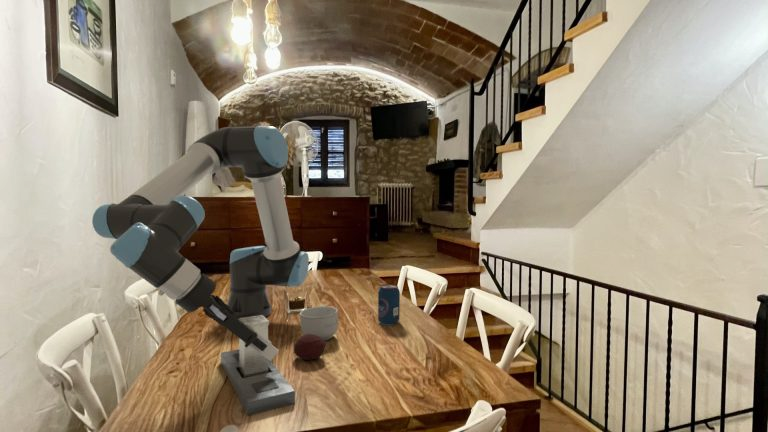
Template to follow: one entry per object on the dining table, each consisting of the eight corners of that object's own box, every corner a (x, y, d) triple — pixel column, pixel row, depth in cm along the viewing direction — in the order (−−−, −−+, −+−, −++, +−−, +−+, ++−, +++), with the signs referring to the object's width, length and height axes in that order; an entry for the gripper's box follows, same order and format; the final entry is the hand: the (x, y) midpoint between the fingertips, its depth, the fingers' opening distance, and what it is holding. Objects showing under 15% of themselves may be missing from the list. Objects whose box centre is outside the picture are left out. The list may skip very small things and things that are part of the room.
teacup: (330, 346, 111) (330, 317, 111) (293, 342, 113) (293, 314, 113) (345, 330, 125) (345, 304, 124) (312, 327, 127) (312, 302, 127)
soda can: (373, 322, 133) (373, 285, 132) (389, 318, 137) (389, 282, 137) (387, 327, 127) (388, 289, 127) (403, 323, 132) (404, 286, 132)
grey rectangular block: (238, 371, 90) (237, 318, 90) (262, 366, 93) (262, 314, 93) (243, 381, 86) (243, 325, 85) (269, 375, 89) (269, 321, 88)
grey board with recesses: (220, 362, 99) (220, 352, 99) (258, 355, 104) (258, 345, 104) (247, 415, 75) (247, 401, 75) (294, 403, 80) (294, 390, 80)
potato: (302, 367, 97) (302, 342, 97) (288, 356, 104) (288, 333, 103) (329, 360, 101) (329, 336, 101) (314, 350, 108) (314, 327, 108)
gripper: (170, 291, 88) (249, 351, 98) (177, 312, 73) (270, 381, 82) (196, 265, 91) (271, 326, 100) (209, 280, 75) (295, 350, 85)
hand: (270, 351), depth 91 cm, fingers closed on grey rectangular block, 5 cm apart
